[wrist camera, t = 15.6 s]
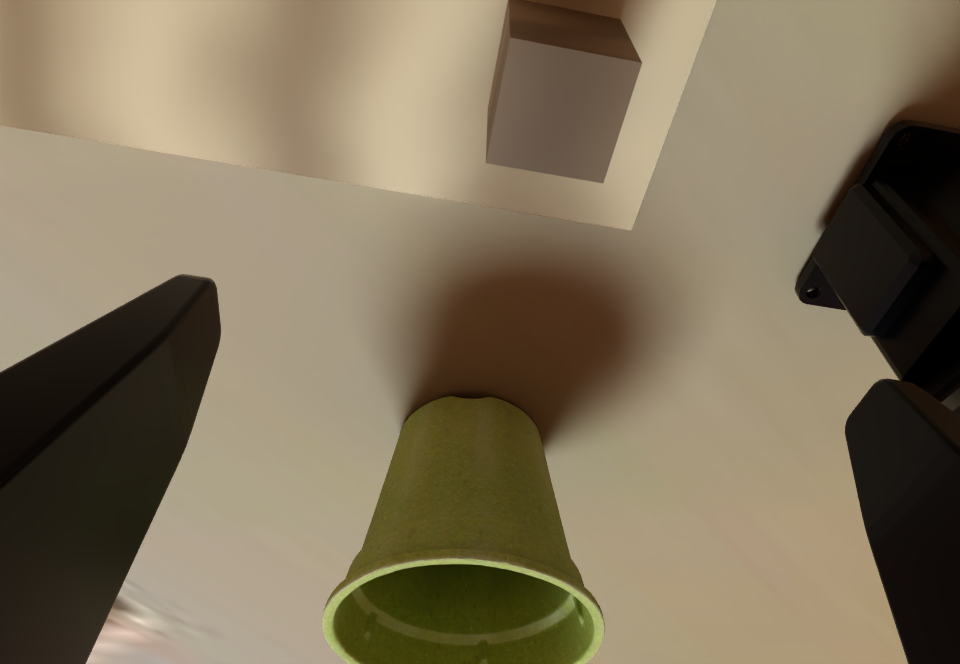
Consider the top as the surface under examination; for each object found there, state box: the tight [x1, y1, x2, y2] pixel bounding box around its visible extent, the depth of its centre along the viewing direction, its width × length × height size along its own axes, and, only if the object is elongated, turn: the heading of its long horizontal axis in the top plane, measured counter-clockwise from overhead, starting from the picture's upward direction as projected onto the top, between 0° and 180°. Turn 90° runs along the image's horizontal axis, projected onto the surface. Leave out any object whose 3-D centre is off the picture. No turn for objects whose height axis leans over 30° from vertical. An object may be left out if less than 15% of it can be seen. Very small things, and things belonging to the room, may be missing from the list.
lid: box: [0, 0, 717, 230], centre depth 17 cm, size 20×9×4 cm, turn 80°
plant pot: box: [322, 396, 605, 664], centre depth 26 cm, size 9×9×9 cm
